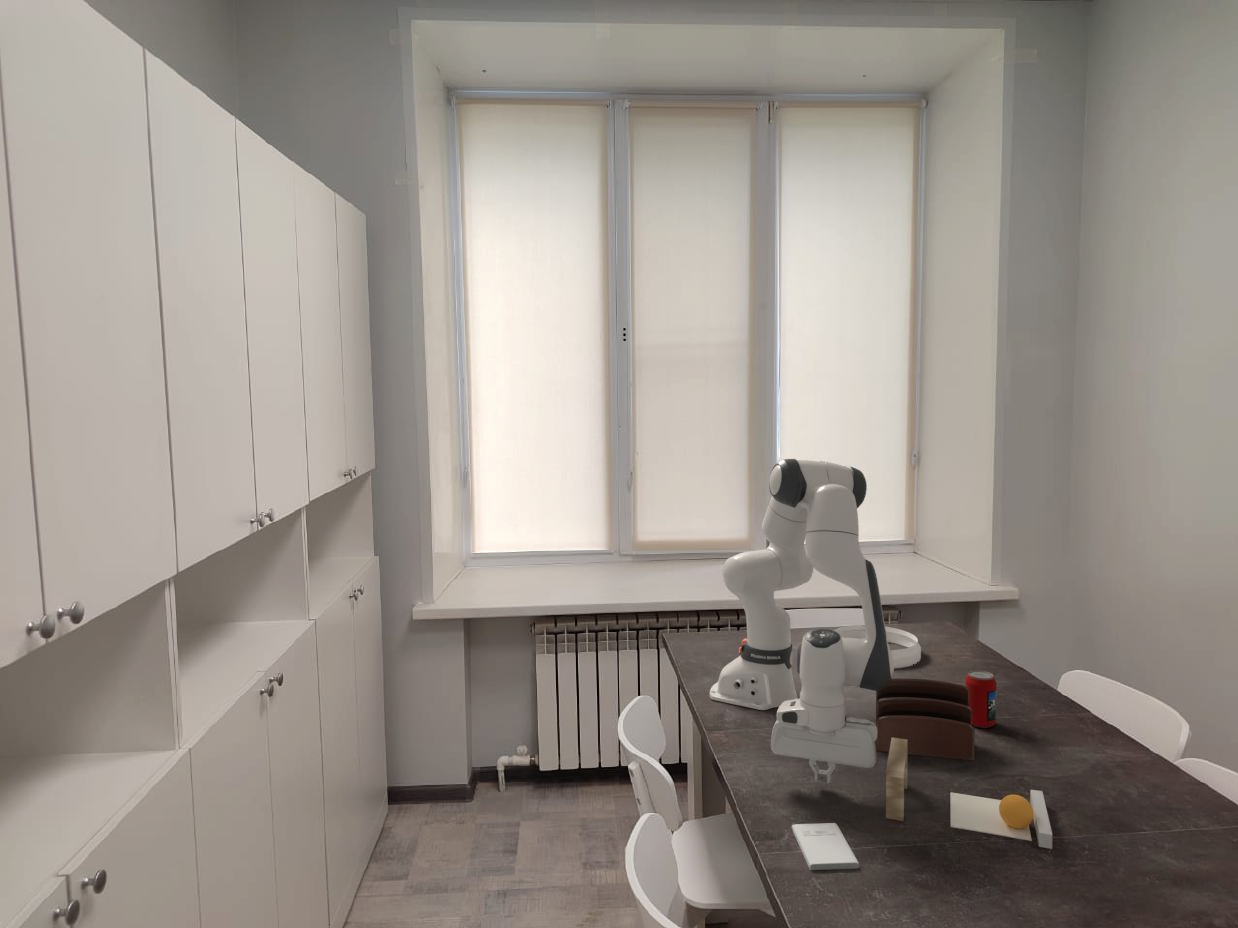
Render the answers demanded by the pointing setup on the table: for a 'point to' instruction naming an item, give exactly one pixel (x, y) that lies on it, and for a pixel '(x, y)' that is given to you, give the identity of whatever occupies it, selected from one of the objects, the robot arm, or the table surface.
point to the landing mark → (982, 816)
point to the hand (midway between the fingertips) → (822, 780)
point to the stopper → (1041, 819)
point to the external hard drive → (824, 846)
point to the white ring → (894, 636)
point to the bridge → (896, 779)
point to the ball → (1016, 811)
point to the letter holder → (926, 718)
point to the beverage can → (982, 698)
